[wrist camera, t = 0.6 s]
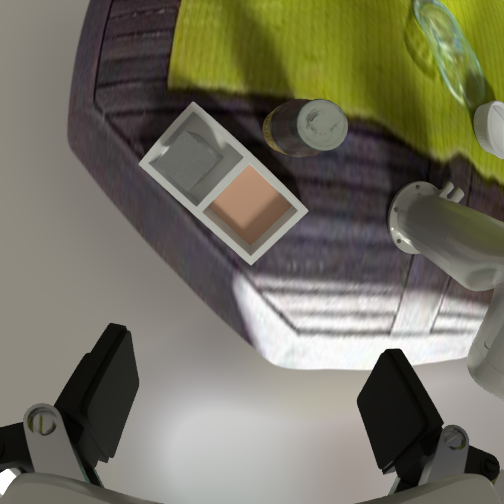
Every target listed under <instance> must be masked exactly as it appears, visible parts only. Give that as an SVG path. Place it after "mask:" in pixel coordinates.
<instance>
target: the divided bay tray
mask: <svg viewBox="0 0 504 504" xmlns="http://www.w3.org/2000/svg"><path fill="white" fill-rule="evenodd" d="M185 130H186V131H190V132H193V133H197V134H199V135H200V136H201V137H202V138H203V139H204V140H205V141H206V142H208V143H209V144H210V145H211V146H212V147H213V148H214V149H215V150H216V151H217V152H219V153H220V154H221V155H222V156H223V158H222V159H221V160H220V161H219V162H218V164H217V165H216V166H215V167H214V168H213V169H212V170H211V171H210V172H209V173H208V174H207V175H206V176H205V177H204V178H203V180H202V181H201V182H200V183H199V184H197V185H196V186H195V187H193V188H192V189H191V190H190V191H188V192H187V191H186V190H184V189H183V188H182V187H181V186H180V185H179V184H178V183H177V182H176V181H175V180H173V179H172V178H171V177H170V176H169V175H168V174H167V173H166V172H165V171H164V170H162V169H161V168H160V167H159V166H158V165H157V164H156V163H157V162H158V161H159V160H160V158H161V157H162V156H163V155H164V154H165V152H166V151H167V150H168V149H169V148H170V147H171V145H172V144H173V143H174V142H175V141H176V140H177V139H178V137H179V136H180V135H181V134H182V133H183V132H184V131H185ZM139 165H140V166H141V167H142V168H143V169H144V170H145V171H146V172H148V173H149V174H150V175H151V176H152V177H153V178H154V179H155V180H156V181H157V182H159V183H160V184H161V185H162V186H163V187H164V188H165V189H166V190H167V191H168V192H170V193H171V194H172V195H173V196H174V197H175V198H176V199H177V200H178V201H179V202H181V203H182V204H183V205H184V206H185V207H186V208H187V209H188V210H189V211H191V212H192V213H193V214H194V215H195V216H196V217H197V218H198V219H199V220H201V221H202V222H203V223H204V224H205V225H206V226H207V227H208V228H209V229H211V230H212V231H213V232H214V233H215V234H216V235H217V236H218V237H219V238H221V239H222V240H223V241H224V242H225V243H226V244H227V245H228V246H230V247H231V248H232V249H233V250H234V251H235V252H236V253H237V254H239V255H240V256H241V257H242V258H243V259H244V260H245V261H246V262H248V263H249V264H250V265H252V264H253V263H254V262H255V261H256V260H257V259H258V258H259V257H260V256H261V255H263V254H264V253H265V252H266V251H267V250H268V249H269V248H270V247H271V246H272V245H273V244H274V243H275V242H276V241H277V240H278V239H280V238H281V237H282V236H283V235H284V234H285V233H286V232H287V231H288V230H289V229H290V228H291V227H292V226H293V225H294V224H295V223H296V222H297V221H299V220H300V219H301V218H302V217H303V216H304V215H305V214H306V213H307V212H308V210H307V209H306V207H305V206H304V205H303V204H302V203H301V202H300V201H299V200H298V199H297V198H296V197H295V196H294V195H293V194H292V193H291V192H290V191H289V190H288V189H287V188H286V187H285V186H284V185H283V184H282V183H281V182H280V181H279V180H278V179H277V178H276V177H275V176H274V175H273V174H272V173H271V172H270V171H269V170H268V169H267V168H266V167H265V166H264V165H263V164H262V163H261V162H260V161H259V160H258V159H257V158H256V157H255V156H254V155H253V154H252V153H250V152H249V151H248V150H247V149H246V148H245V147H244V146H243V145H242V144H241V143H240V142H239V141H238V140H237V139H235V138H234V137H233V136H232V135H231V134H230V133H229V132H228V131H227V130H226V129H224V128H223V127H222V126H221V125H220V124H219V123H218V122H217V121H216V120H214V119H213V118H212V117H211V116H210V115H209V114H208V113H206V112H205V111H204V110H203V109H202V108H201V107H199V106H198V105H197V104H196V103H195V102H192V103H191V104H190V105H189V106H188V107H187V108H186V109H185V110H184V111H183V112H182V113H181V115H180V116H179V117H178V118H177V119H176V120H175V121H174V122H173V123H172V124H171V126H170V127H169V128H168V129H167V130H166V131H165V132H164V134H163V135H162V136H161V137H160V138H159V139H158V141H157V142H156V143H155V144H154V145H153V147H152V148H151V149H150V150H149V152H148V153H147V154H146V155H145V157H144V158H143V159H142V160H141V162H140V163H139Z"/></svg>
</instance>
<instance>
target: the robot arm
mask: <svg viewBox="0 0 504 504" xmlns="http://www.w3.org/2000/svg"><path fill="white" fill-rule="evenodd" d="M453 188H454V186H453V184H452V183H451V182H448V183H447V184H446V185H445V186H444V188H443V189H442V190H438V189H437V188H436V187H435V186H434V185H432V184H430V183H428V182H424V181H414V182H411V183H408V184H407V185H405V186H404V187H402V188H401V189H400V190H399V191H398V192H397V194H396V195H395V197H394V198H393V200H392V202H391V204H390V208H389V211H388V218H387V226H388V231H389V235H390V237H391V239H392V241H393V242H394V244H395V245H396V246H397V247H398V248H399V249H401V250H402V251H404V252H406V253H410V254H418V253H422V254H423V255H424V256H426V257H427V258H428V259H430V260H431V261H432V262H434V263H435V264H436V265H438V266H439V267H440V268H441V269H443V270H444V271H445V272H447V273H448V274H449V275H450V276H452V277H453V278H454V279H455V280H457V281H458V282H459V283H460V284H461V285H463V286H464V287H466V288H468V289H470V290H474V291H484V290H488V289H492V288H495V290H494V294H493V297H492V300H491V302H490V306H489V308H488V311H487V313H486V315H485V317H484V320H483V322H482V324H481V326H480V328H479V330H478V332H477V335H476V337H475V339H474V341H473V343H472V345H471V347H470V350H469V353H468V358H467V367H468V370H469V373H470V375H471V377H472V378H473V379H474V381H475V382H476V383H477V384H478V385H479V386H480V387H482V388H483V389H484V390H486V391H487V392H489V393H491V394H492V395H494V396H496V397H498V398H500V399H502V400H504V222H501V221H499V220H497V219H494V218H492V217H490V216H488V215H485V214H483V213H481V212H478V211H476V210H473V209H471V208H469V207H466V206H464V205H461V204H459V203H458V202H459V201H460V200H461V199H462V198H463V196H464V193H463V191H462V190H461V189H460V188H456V189H455V190H454V192H453V193H452V194H451V196H450V197H449V198H447V194H448V193H450V191H451V190H452V189H453ZM138 387H139V377H138V372H137V367H136V361H135V356H134V351H133V343H132V337H131V332H130V331H128V330H127V328H126V326H123V325H119V324H114V323H110V324H109V325H108V326H107V328H106V330H105V331H104V332H103V334H102V335H101V337H100V338H99V340H98V341H97V343H96V345H95V346H94V348H93V349H92V351H91V352H90V353H87V354H85V356H84V357H83V358H82V360H81V361H80V363H79V364H78V366H77V368H76V369H75V371H74V373H73V374H72V376H71V377H70V379H69V381H68V382H67V384H66V386H65V387H64V389H63V391H62V392H61V394H60V396H59V397H58V399H57V401H56V403H55V404H54V406H51V405H49V404H45V403H41V404H36V405H33V406H32V407H30V408H29V409H28V410H27V411H26V413H25V415H24V418H23V422H20V423H16V424H12V425H9V426H4V427H0V504H162V503H158V502H153V501H149V500H144V499H140V498H136V497H132V496H128V495H125V494H122V493H118V492H115V491H112V490H108V489H105V488H104V485H103V484H102V482H101V480H100V478H99V476H98V474H97V472H96V470H95V467H96V465H97V462H98V460H99V461H102V462H105V463H107V462H108V460H109V457H110V458H113V457H114V455H115V452H116V450H117V446H118V444H119V441H120V438H121V434H122V431H123V429H124V426H125V423H126V420H127V417H128V415H129V412H130V409H131V407H132V404H133V401H134V398H135V396H136V393H137V390H138ZM357 405H358V408H359V411H360V413H361V417H362V420H363V423H364V425H365V429H366V431H367V434H368V437H369V440H370V443H371V447H372V450H373V453H374V456H375V459H376V462H377V465H378V468H379V469H382V472H383V475H384V474H388V473H392V472H395V471H396V472H397V477H396V479H395V482H394V484H393V486H392V488H391V490H390V492H389V494H388V496H384V497H381V498H377V499H373V500H369V501H365V502H360V503H356V504H504V470H503V469H501V470H500V466H499V462H498V460H497V459H496V457H495V456H493V455H492V454H489V453H487V452H484V451H482V450H480V449H477V448H475V447H473V446H470V445H469V438H468V435H467V433H466V432H465V430H464V429H462V428H461V427H459V426H457V425H448V426H446V427H445V428H444V429H443V428H442V425H443V424H444V422H443V420H442V418H441V416H440V415H439V413H438V411H437V409H436V407H435V405H434V404H433V402H432V400H431V398H430V397H429V395H428V393H427V391H426V390H425V388H424V386H423V385H422V383H421V381H420V380H419V378H418V376H417V374H416V373H415V371H414V370H413V368H412V366H411V364H410V363H409V361H408V360H407V358H406V356H405V355H404V353H403V352H402V350H401V349H386V350H385V351H384V353H382V354H381V355H380V357H379V359H378V361H377V363H376V364H375V366H374V368H373V370H372V372H371V374H370V376H369V378H368V380H367V382H366V383H365V385H364V387H363V389H362V390H361V392H360V394H359V396H358V398H357Z"/></svg>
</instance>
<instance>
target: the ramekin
mask: <svg viewBox="0 0 504 504" xmlns="http://www.w3.org/2000/svg"><path fill="white" fill-rule="evenodd" d="M473 126H474V132H475V135H476V138H477V140H478V142H479V144H480V145H481V147H482V148H483V149H484V150H485V151H487V152H489V153H491V154H494V155H496V156H497V157H499V158H501V159H504V103H503V102H501V101H497V100H496V101H491V102H490V103H486V104H483V105H481V106H479V107H478V108H477V110H476V112H475V114H474V119H473Z"/></svg>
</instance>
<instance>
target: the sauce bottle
mask: <svg viewBox="0 0 504 504" xmlns="http://www.w3.org/2000/svg"><path fill="white" fill-rule="evenodd" d="M347 131H348V122H347V119H346V116H345V114H344V112H343V111H342V109H341V108H340V107H339V106H338V105H337V104H335V103H333V102H331V101H329V100H324V99H314V100H308V99H292V100H289V101H288V102H285V103H283V104H281V105H280V106H278V107H277V108H276V109H275V110H274V111H272V112H271V113H270V114H269V115H268V116H267V117H266V119H265V120H264V123H263V136H264V139H265V141H266V142H267V144H268V145H269V146H270V147H271V148H273V149H274V150H276V151H279V152H281V153H284V154H287V155H290V156H293V157H305V156H316V155H318V154H319V153H320V152H321V151H327V150H332V149H334V148H336V147H338V146H339V145H340V144H341V143H342V142H343V141H344V139H345V137H346V135H347Z"/></svg>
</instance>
